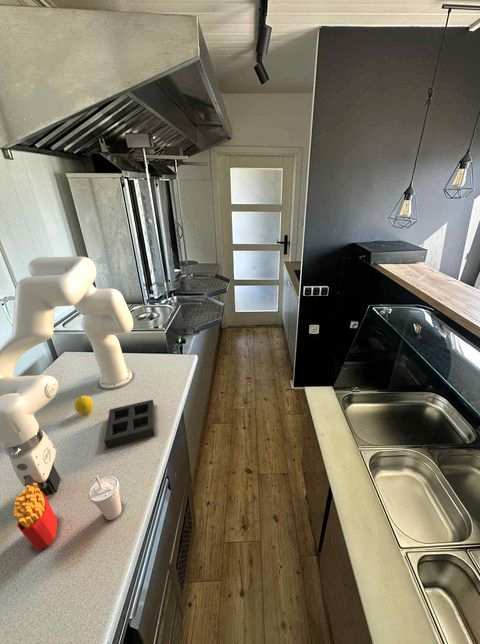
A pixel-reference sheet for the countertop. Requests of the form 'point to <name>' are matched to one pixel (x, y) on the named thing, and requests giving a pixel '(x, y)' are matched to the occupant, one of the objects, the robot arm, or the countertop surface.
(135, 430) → the socket pad
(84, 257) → the robot arm
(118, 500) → the smoothie
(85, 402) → the lemon
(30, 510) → the french fries
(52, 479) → the connector plug
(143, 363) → the countertop surface
